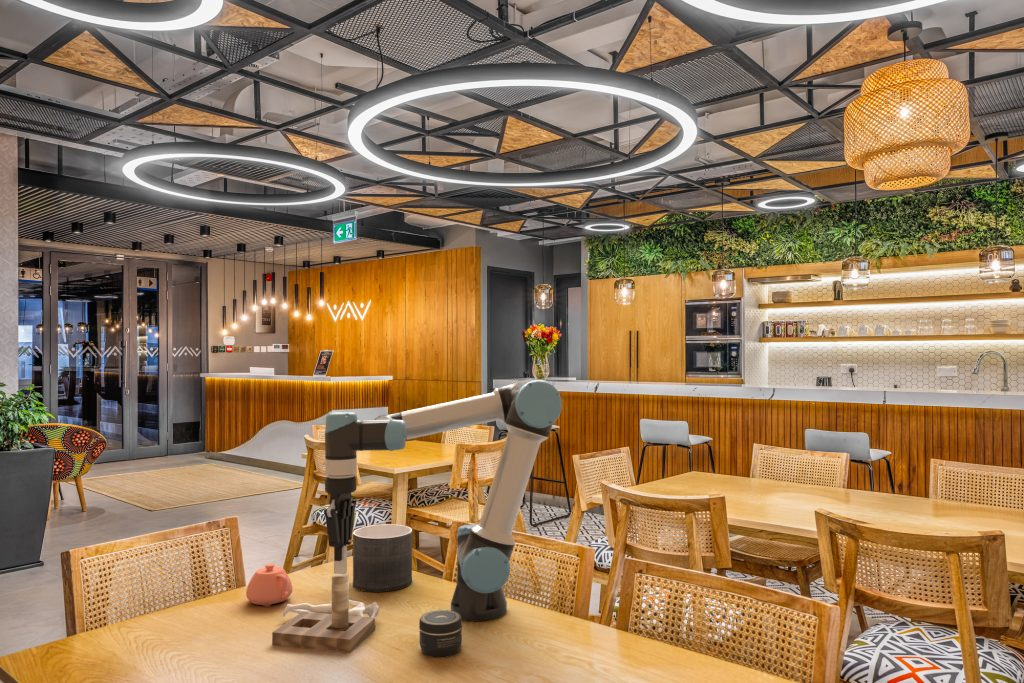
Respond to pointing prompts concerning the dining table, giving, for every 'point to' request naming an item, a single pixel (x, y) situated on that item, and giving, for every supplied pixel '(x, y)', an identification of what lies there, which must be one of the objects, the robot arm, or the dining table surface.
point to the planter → (382, 557)
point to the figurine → (327, 609)
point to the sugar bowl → (269, 586)
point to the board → (322, 632)
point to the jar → (440, 633)
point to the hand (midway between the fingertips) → (340, 572)
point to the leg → (340, 602)
